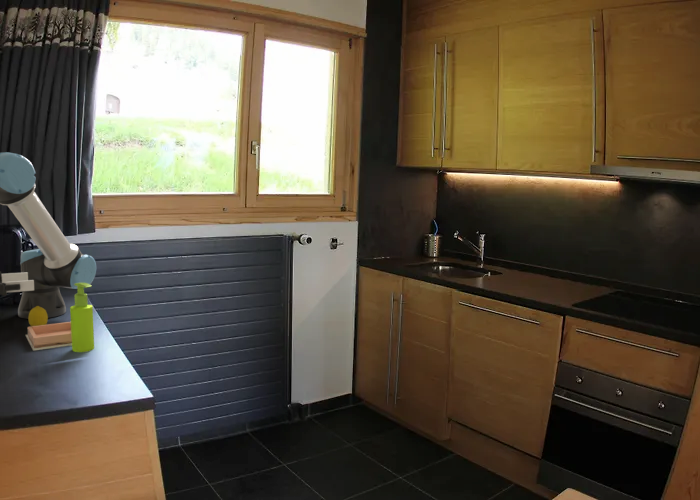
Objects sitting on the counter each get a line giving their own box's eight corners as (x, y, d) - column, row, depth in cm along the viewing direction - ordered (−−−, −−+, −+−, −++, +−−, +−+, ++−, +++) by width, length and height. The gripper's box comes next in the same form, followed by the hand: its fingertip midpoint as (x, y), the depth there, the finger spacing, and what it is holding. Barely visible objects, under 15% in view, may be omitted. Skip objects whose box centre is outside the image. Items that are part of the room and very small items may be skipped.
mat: (25, 336, 192) (25, 335, 192) (77, 330, 201) (77, 328, 201) (33, 352, 178) (33, 350, 178) (89, 344, 186) (89, 342, 186)
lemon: (40, 333, 197) (39, 308, 195) (25, 332, 198) (23, 307, 196) (52, 328, 202) (50, 304, 201) (37, 327, 203) (35, 303, 202)
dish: (28, 336, 191) (27, 326, 190) (77, 330, 199) (76, 320, 198) (34, 348, 179) (33, 338, 179) (86, 341, 187) (85, 331, 187)
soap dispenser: (82, 356, 175) (79, 286, 172) (67, 351, 179) (64, 283, 176) (101, 350, 180) (98, 282, 177) (86, 346, 184) (83, 280, 181)
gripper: (-60, 293, 172) (26, 286, 184) (-60, 311, 152) (37, 302, 163) (-62, 266, 171) (24, 261, 183) (-62, 281, 151) (35, 274, 162)
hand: (30, 281), depth 173 cm, fingers open, 13 cm apart
